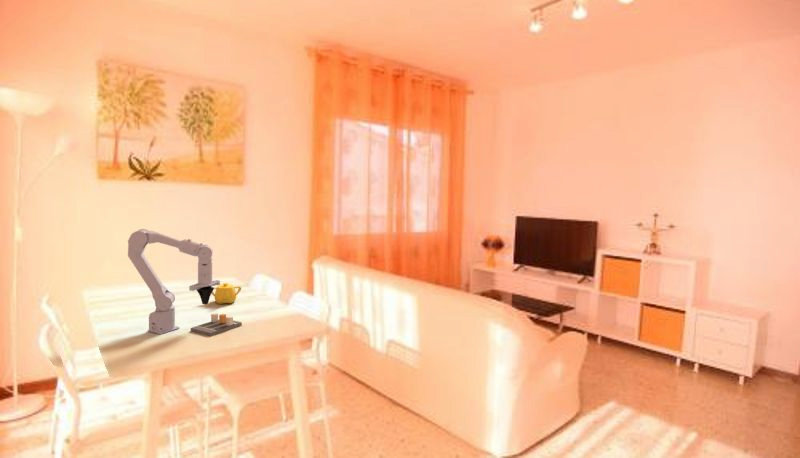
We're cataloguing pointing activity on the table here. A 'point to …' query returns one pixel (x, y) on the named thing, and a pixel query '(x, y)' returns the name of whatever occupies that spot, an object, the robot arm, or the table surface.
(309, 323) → the table surface
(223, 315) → the breaker
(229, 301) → the teapot
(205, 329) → the panel
